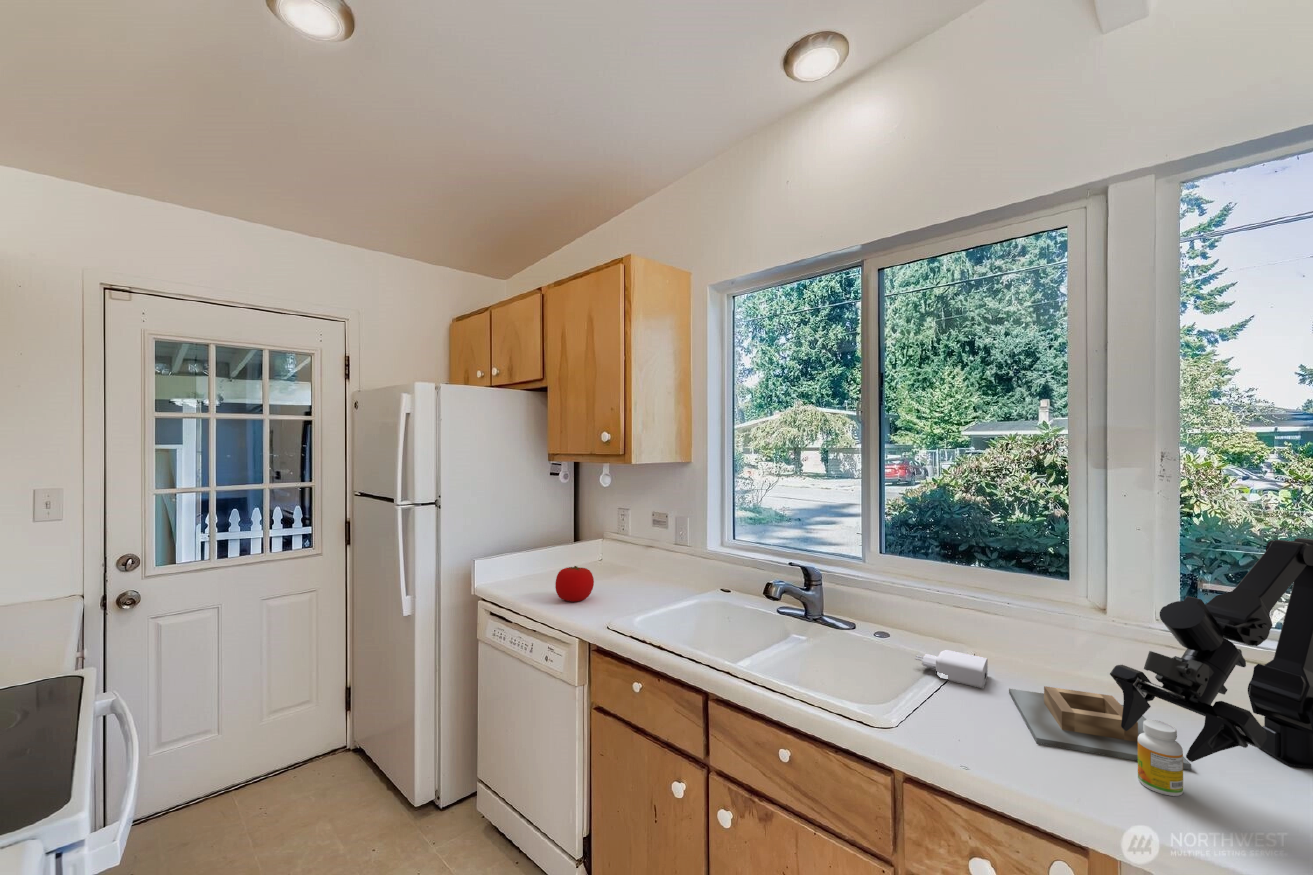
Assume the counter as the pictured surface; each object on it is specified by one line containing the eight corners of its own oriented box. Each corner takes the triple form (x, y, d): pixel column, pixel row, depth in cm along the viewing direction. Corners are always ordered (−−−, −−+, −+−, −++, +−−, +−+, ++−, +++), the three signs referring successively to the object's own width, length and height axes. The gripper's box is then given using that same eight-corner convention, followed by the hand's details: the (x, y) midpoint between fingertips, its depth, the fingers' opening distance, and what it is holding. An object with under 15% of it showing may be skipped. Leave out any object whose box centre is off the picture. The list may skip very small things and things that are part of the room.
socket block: (1133, 711, 113) (1133, 689, 113) (1191, 769, 93) (1190, 743, 93) (1008, 692, 121) (1008, 672, 121) (1036, 743, 101) (1036, 718, 101)
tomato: (548, 603, 187) (548, 569, 187) (566, 593, 200) (566, 560, 200) (582, 606, 183) (583, 571, 183) (598, 596, 196) (599, 563, 196)
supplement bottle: (1136, 772, 92) (1136, 713, 92) (1181, 785, 89) (1181, 724, 89) (1138, 787, 88) (1138, 726, 88) (1185, 801, 84) (1184, 738, 85)
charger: (919, 661, 139) (987, 676, 130) (910, 673, 132) (982, 690, 123) (919, 642, 139) (987, 656, 130) (910, 653, 132) (982, 669, 123)
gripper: (1117, 618, 99) (1069, 686, 96) (1253, 657, 81) (1199, 742, 78) (1150, 658, 101) (1104, 726, 98) (1289, 705, 82) (1238, 790, 80)
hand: (1154, 743), depth 88 cm, fingers open, 9 cm apart
